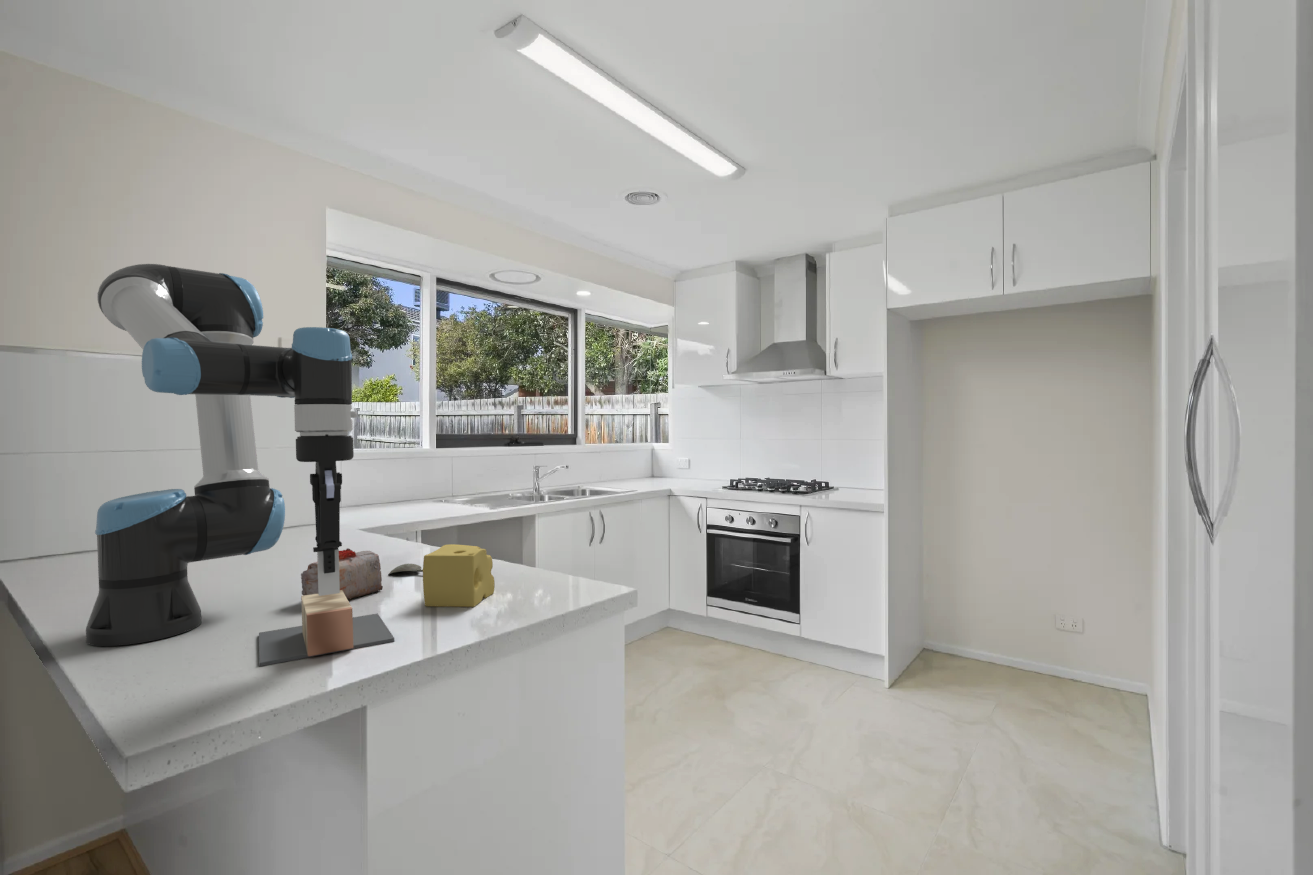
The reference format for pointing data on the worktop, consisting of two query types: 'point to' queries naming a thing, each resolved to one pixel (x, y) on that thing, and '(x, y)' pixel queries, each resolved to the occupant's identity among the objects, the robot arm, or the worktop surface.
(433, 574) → the cheese
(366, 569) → the food item
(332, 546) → the robot arm
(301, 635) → the mat
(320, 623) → the block
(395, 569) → the soupspoon
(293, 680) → the worktop surface
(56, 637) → the worktop surface
